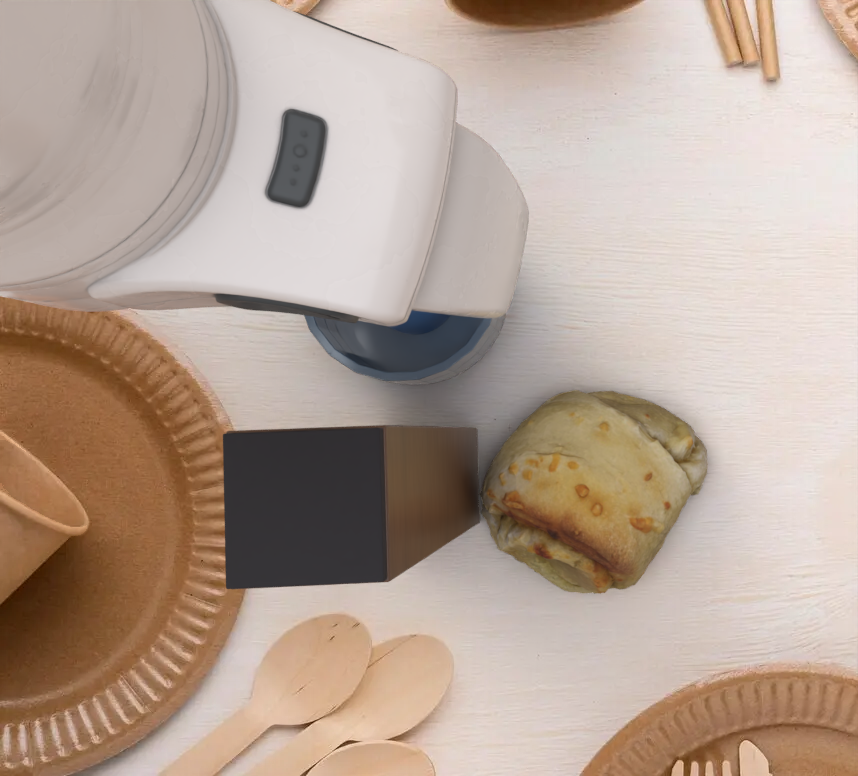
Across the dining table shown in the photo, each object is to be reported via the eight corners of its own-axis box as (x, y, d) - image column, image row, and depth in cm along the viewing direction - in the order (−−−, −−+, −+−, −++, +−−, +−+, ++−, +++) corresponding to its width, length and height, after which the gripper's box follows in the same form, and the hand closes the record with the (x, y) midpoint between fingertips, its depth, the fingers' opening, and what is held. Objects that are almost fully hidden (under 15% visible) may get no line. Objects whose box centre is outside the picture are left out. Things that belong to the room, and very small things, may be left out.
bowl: (327, 388, 66) (300, 384, 60) (322, 206, 66) (295, 186, 61) (511, 381, 67) (501, 377, 61) (505, 202, 67) (495, 182, 62)
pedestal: (382, 527, 66) (228, 589, 40) (380, 431, 66) (225, 430, 40) (480, 523, 66) (390, 582, 40) (477, 427, 66) (385, 425, 40)
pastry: (484, 592, 66) (466, 614, 58) (481, 393, 66) (462, 388, 58) (708, 584, 67) (721, 605, 59) (703, 388, 67) (715, 382, 59)
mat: (231, 587, 40) (225, 589, 39) (227, 433, 40) (221, 433, 39) (387, 579, 40) (384, 582, 40) (383, 427, 40) (379, 427, 40)
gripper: (-432, 151, 24) (-47, 253, 38) (460, 338, 25) (517, 370, 39) (-361, -114, 24) (-5, 83, 38) (516, 82, 25) (553, 204, 39)
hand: (263, 229), depth 38 cm, fingers open, 8 cm apart
